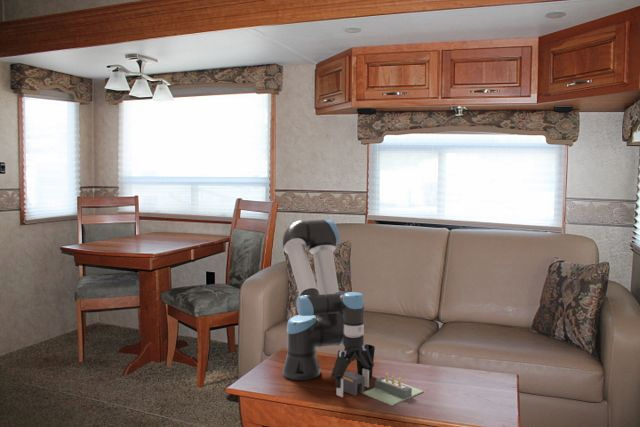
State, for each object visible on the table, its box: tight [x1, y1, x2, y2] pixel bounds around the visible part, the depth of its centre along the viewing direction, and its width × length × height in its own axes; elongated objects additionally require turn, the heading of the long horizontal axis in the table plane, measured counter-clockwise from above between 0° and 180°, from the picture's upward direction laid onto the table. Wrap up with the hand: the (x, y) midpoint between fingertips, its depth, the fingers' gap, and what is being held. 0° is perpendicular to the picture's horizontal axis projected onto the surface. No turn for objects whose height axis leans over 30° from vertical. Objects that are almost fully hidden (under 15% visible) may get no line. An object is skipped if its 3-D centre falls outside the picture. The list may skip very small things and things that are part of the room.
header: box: [361, 372, 424, 406], centre depth 200 cm, size 14×18×6 cm
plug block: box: [342, 370, 365, 397], centre depth 201 cm, size 7×5×6 cm
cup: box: [356, 343, 376, 380], centre depth 216 cm, size 8×8×12 cm
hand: (352, 391), depth 201 cm, fingers open, 13 cm apart
